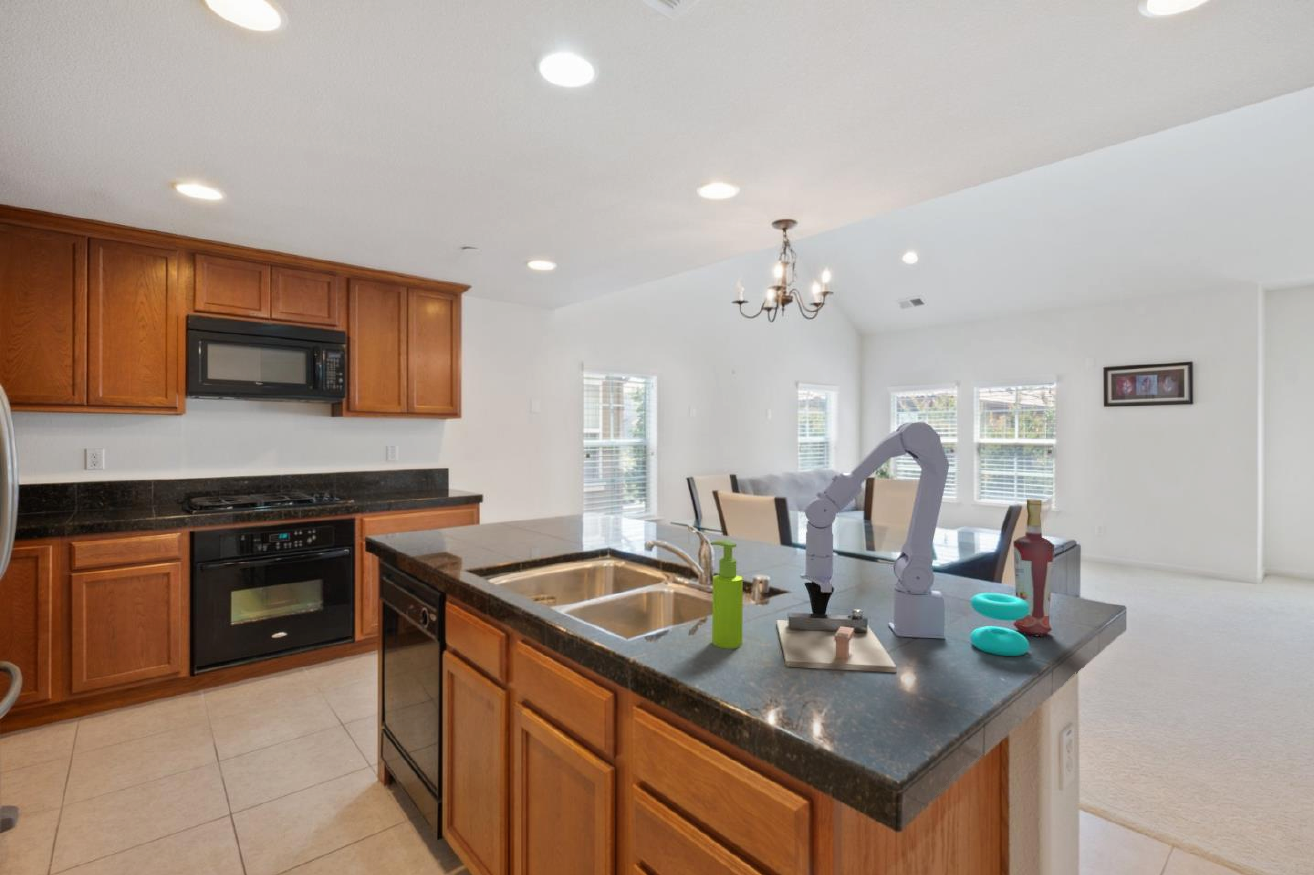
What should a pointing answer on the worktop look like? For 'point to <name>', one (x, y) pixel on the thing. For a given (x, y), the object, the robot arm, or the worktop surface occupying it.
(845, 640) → the block
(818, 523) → the robot arm
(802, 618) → the link
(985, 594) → the donuts
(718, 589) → the soap dispenser
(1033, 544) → the liquor
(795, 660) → the hinge board
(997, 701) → the worktop surface
